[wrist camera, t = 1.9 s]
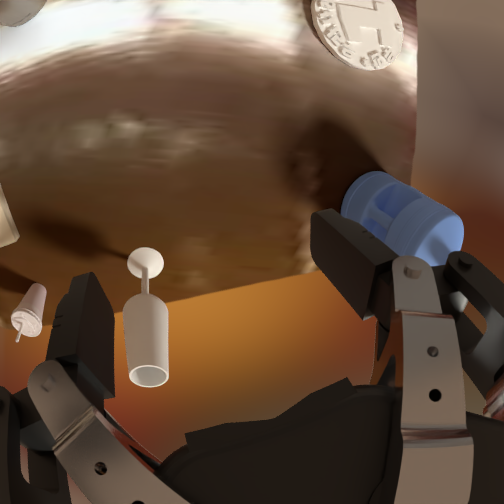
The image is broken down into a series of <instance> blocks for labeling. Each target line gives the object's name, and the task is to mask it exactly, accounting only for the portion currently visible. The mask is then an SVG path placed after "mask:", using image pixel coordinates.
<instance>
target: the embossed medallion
mask: <svg viewBox="0 0 504 504" xmlns="http://www.w3.org/2000/svg"><path fill="white" fill-rule="evenodd" d="M311 13H312V19H313V25H314V27H315V29H316V31H317V33H318V36H319V37H320V39H321V41H322V43H323V44H324V45H325V46H326V47H327V48H328V49H329V50H330V52H331V53H332V54H333V55H334V56H335V57H336V58H338V59H339V60H341V61H343V62H344V63H346V64H347V65H349V66H350V67H355V68H359V69H363V70H377V69H383V68H385V67H387V66H388V65H390V64H391V63H393V62H394V61H395V59H396V58H397V56H398V54H399V53H400V51H401V48H402V42H403V30H404V28H402V21H401V18H400V16H399V14H398V11H397V9H396V7H395V5H394V3H393V2H392V1H391V0H312V3H311Z"/></svg>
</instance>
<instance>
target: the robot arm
mask: <svg viewBox="0 0 504 504" xmlns="http://www.w3.org/2000/svg"><path fill="white" fill-rule="evenodd" d="M45 2H46V0H0V24H3V25H7V26H10V27H16V26H20V25H22V24H24V23H26V22H27V21H29V20H30V19H32V18H33V17H34V16H35V15H36V14H37V13H38V12H39V11H40V10H41V8H42V7H43V5H44V4H45ZM310 250H311V255H312V258H313V260H314V262H315V264H316V265H317V266H318V267H319V268H320V270H321V271H322V272H323V273H324V274H325V276H326V277H327V278H328V279H329V280H330V281H331V283H332V284H333V285H334V286H335V287H336V289H337V290H338V291H339V292H340V293H341V294H342V296H343V297H344V298H345V299H346V301H347V302H348V303H349V304H350V305H351V307H352V308H353V309H354V310H355V311H356V313H357V314H358V315H359V316H360V318H361V319H362V320H366V319H368V318H370V317H372V316H375V317H376V318H377V322H376V331H375V332H376V333H375V349H374V364H373V371H372V376H371V379H370V383H369V385H356V386H352V384H351V383H350V381H349V380H348V378H347V377H346V378H344V379H343V380H340V381H338V382H336V383H334V384H331V385H329V386H327V387H325V388H322V389H320V390H318V391H316V392H313V393H311V394H309V395H308V396H307V397H305V398H304V399H302V400H301V401H300V402H298V403H297V404H296V405H294V406H292V407H291V408H289V409H288V410H287V411H285V412H284V413H282V414H281V415H279V416H278V417H276V418H273V419H269V420H260V421H249V422H236V423H224V424H221V425H217V426H214V427H210V428H206V429H202V430H198V431H193V432H189V433H185V437H186V441H187V444H186V445H184V446H182V447H180V448H179V449H177V450H176V451H174V452H173V453H172V454H170V455H169V456H168V457H167V458H166V459H165V460H164V461H163V462H161V461H160V460H159V459H157V458H156V457H155V456H154V455H152V454H151V453H150V452H149V451H147V450H146V449H145V448H144V447H142V446H141V445H140V444H139V443H138V442H137V441H136V440H135V439H134V438H133V437H132V436H131V435H130V434H129V433H128V432H127V431H126V430H124V428H123V427H122V426H121V425H120V424H119V423H118V422H117V421H116V420H115V419H114V418H113V417H112V416H111V415H110V414H109V413H108V412H107V410H105V409H104V399H108V398H114V397H115V384H114V325H115V318H114V313H113V309H112V306H111V304H110V302H109V300H108V299H107V297H106V295H105V293H104V291H103V289H102V287H101V285H100V283H99V281H98V279H97V277H96V276H95V274H94V273H93V272H89V273H86V274H83V275H79V276H76V277H73V279H72V281H71V285H70V289H69V292H68V294H65V295H64V296H63V298H62V300H61V301H60V303H59V304H58V306H57V309H56V313H55V319H54V321H53V326H52V327H53V329H52V330H51V335H50V339H49V344H48V350H47V355H46V360H45V361H44V362H42V363H40V364H39V365H38V366H36V368H35V369H34V370H33V371H32V373H31V374H30V377H29V380H28V387H26V388H25V389H23V390H21V391H19V392H17V393H15V394H13V395H12V394H11V393H10V392H9V391H8V390H7V389H5V388H4V387H1V386H0V504H72V503H71V498H70V492H69V486H68V480H67V473H68V474H69V475H70V477H71V478H72V480H73V481H74V482H75V484H76V485H77V486H78V487H79V489H80V490H81V491H82V492H83V494H84V495H85V496H86V497H87V499H88V500H89V501H90V502H91V503H92V504H504V284H503V283H502V282H501V281H500V280H499V279H498V278H497V277H496V276H495V275H494V274H493V273H492V272H491V271H490V270H488V269H487V268H486V267H485V266H484V265H483V264H482V263H481V262H479V261H478V260H477V259H476V258H475V257H474V256H472V255H470V254H468V253H466V252H462V251H453V252H451V253H450V254H449V255H448V258H447V261H446V264H445V265H439V266H430V265H429V264H428V263H427V262H426V261H424V260H423V259H421V258H418V257H415V256H409V255H405V256H399V255H397V254H396V253H395V252H394V251H393V250H392V249H390V248H389V247H388V246H387V245H386V244H384V243H383V242H382V241H381V240H380V239H378V238H377V237H376V238H375V235H373V234H372V233H371V232H370V231H369V232H368V230H367V229H366V228H365V227H363V226H362V225H361V224H360V223H358V222H355V221H353V220H351V219H348V218H344V217H343V216H342V215H340V214H339V213H338V212H336V211H335V210H334V209H332V208H330V209H326V210H322V211H318V212H314V213H312V215H311V234H310ZM468 301H469V302H470V303H471V304H472V305H473V306H474V307H475V308H476V309H477V310H478V311H479V312H480V313H481V314H482V315H483V316H484V318H485V319H486V322H487V330H486V332H485V334H484V335H483V334H482V333H481V332H480V331H479V329H478V328H477V327H476V326H475V325H474V324H473V323H472V322H471V320H470V319H469V318H468V317H467V316H466V315H465V314H464V313H463V310H464V308H465V306H466V304H467V302H468ZM462 368H463V369H464V371H465V372H466V373H467V375H468V376H469V377H470V378H471V380H472V381H473V383H474V384H475V386H476V387H477V388H478V390H479V391H480V393H481V394H482V395H483V397H484V398H485V400H486V406H485V407H484V408H483V416H482V415H478V414H474V413H470V412H467V411H465V393H464V381H463V372H462ZM20 445H22V446H24V447H25V448H27V451H28V469H29V482H30V484H29V483H28V482H27V481H26V480H25V479H24V478H23V475H22V473H21V464H20ZM66 471H67V472H66Z"/></svg>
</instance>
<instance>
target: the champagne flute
mask: <svg viewBox="0 0 504 504" xmlns="http://www.w3.org/2000/svg"><path fill="white" fill-rule="evenodd" d="M127 264H128V268H129V270H130V272H131V273H132V274H133V275H135V276H136V277H139V278H142V293H141V294H137V295H135V296H133V297H132V298H130V299H129V300H128V301H127V302H126V304H125V306H124V308H123V322H124V334H125V345H126V353H127V362H128V370H129V377H130V380H131V381H132V382H133V383H135V384H137V385H139V386H143V387H156V386H160V385H162V384H164V383H165V382H166V381H167V380H168V377H169V374H168V309H167V307H166V305H165V303H164V302H163V301H162V300H161V299H159V298H158V297H156V296H155V295H152V294H149V278H153V277H155V276H157V275H158V274H159V273H160V272H161V271H162V269H163V264H164V262H163V258H162V256H161V255H160V254H159V253H158V252H157V251H156V250H154V249H152V248H145V247H144V248H139V249H136V250H135V251H133V252H132V253H131V254H130V256H129V258H128V263H127Z"/></svg>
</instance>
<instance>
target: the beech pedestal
mask: <svg viewBox="0 0 504 504" xmlns="http://www.w3.org/2000/svg"><path fill="white" fill-rule="evenodd" d="M19 237H20V235H19V233H18V230H17V228H16V226H15V223H14V221H13V218H12V216H11V213H10V210H9V208H8V205H7V202H6V199H5V196H4V193H3V190H2V187H1V184H0V247H3V246H5V245H8V244H11V243H13V242H16V241H17V239H18V238H19Z"/></svg>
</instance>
